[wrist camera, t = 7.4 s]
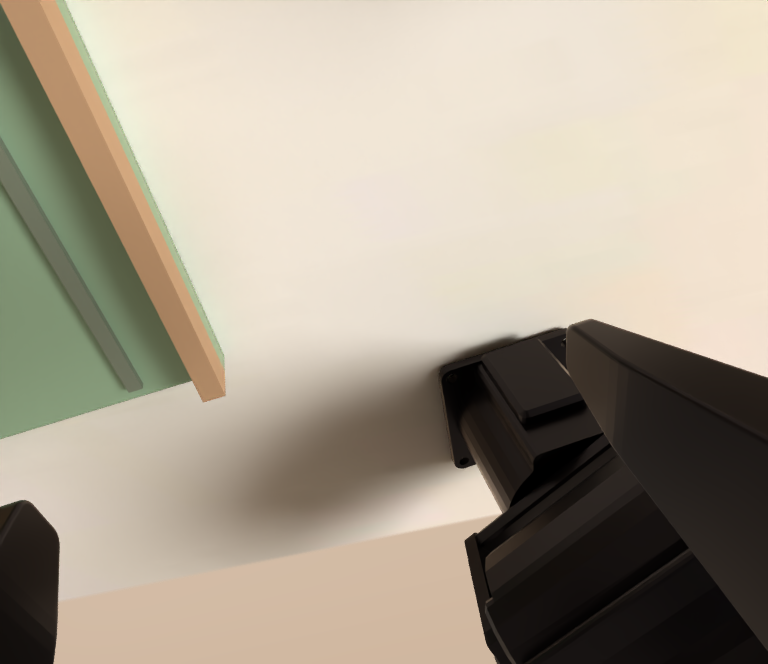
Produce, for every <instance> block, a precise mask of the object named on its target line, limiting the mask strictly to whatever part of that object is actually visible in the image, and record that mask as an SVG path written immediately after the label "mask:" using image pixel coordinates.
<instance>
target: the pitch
mask: <svg viewBox="0 0 768 664" xmlns="http://www.w3.org/2000/svg"><path fill="white" fill-rule="evenodd" d="M189 381H193V383H194V385H195V387H196V389H197V391H198V393H199V395H200V397H201V399H202V401H203V402H207V401H210V400H213V399H216V398H219V397H223V396H226V395H225V369H224V355H223V352H222V350H221V348H220V346H219V343H218V341H217V339H216V337H215V334H214V332H213V330H212V328H211V326H210V323H209V321H208V319H207V317H206V314H205V312H204V310H203V308H202V306H201V303H200V301H199V299H198V297H197V294H196V292H195V290H194V288H193V285H192V283H191V281H190V279H189V277H188V274H187V272H186V270H185V268H184V265H183V263H182V261H181V259H180V256H179V254H178V252H177V250H176V248H175V245H174V243H173V241H172V239H171V236H170V234H169V232H168V230H167V228H166V225H165V223H164V221H163V219H162V216H161V214H160V212H159V210H158V207H157V205H156V203H155V201H154V199H153V196H152V194H151V192H150V190H149V187H148V185H147V183H146V181H145V178H144V176H143V174H142V172H141V170H140V167H139V165H138V163H137V161H136V158H135V156H134V154H133V152H132V150H131V147H130V145H129V143H128V141H127V138H126V136H125V134H124V132H123V129H122V127H121V125H120V123H119V121H118V118H117V116H116V114H115V112H114V109H113V107H112V105H111V103H110V101H109V98H108V96H107V94H106V92H105V89H104V87H103V85H102V83H101V80H100V78H99V76H98V74H97V72H96V69H95V67H94V65H93V63H92V60H91V58H90V56H89V54H88V51H87V49H86V47H85V45H84V43H83V40H82V38H81V36H80V34H79V31H78V29H77V27H76V25H75V23H74V20H73V18H72V16H71V14H70V11H69V9H68V7H67V5H66V2H65V0H0V439H2V438H6V437H9V436H12V435H15V434H19V433H22V432H25V431H29V430H32V429H35V428H38V427H42V426H45V425H48V424H52V423H55V422H58V421H61V420H65V419H68V418H71V417H74V416H78V415H81V414H84V413H88V412H91V411H94V410H97V409H101V408H104V407H107V406H111V405H114V404H117V403H120V402H124V401H127V400H130V399H133V398H137V397H140V396H143V395H147V394H150V393H153V392H156V391H160V390H163V389H166V388H170V387H173V386H176V385H179V384H183V383H186V382H189Z"/></svg>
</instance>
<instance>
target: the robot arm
mask: <svg viewBox="0 0 768 664" xmlns="http://www.w3.org/2000/svg"><path fill="white" fill-rule="evenodd" d="M565 338H566V339H565ZM563 339H565V340H564V341H563ZM562 341H563V342H562ZM451 374H454V375H453V376H452V377H450V378H447V377H448V376H449V375H451ZM438 378H439V384H440V390H441V396H442V402H443V408H444V414H445V420H446V426H447V432H448V437H449V443H450V449H451V455H452V460H453V462H454V464H455V466H456V467H457V468H461V469H462V468H466V467H469V466H472V465H475V464H477V466H478V468H479V470H480V472H481V474H482V475H483V477H484V479H485V481H486V483H487V485H488V487H489V489H490V491H491V492H492V494H493V496H494V498H495V500H496V502H497V504H498V506H499V507H500V509H501V511H502V513H503V514H501V515H500V516H499V517H498V518H496V519H495V520H494V521H493V522H491V523H490V524H489V525H488V526H486V527H485V528H484V529H482V530H481V531H480V532H479V533H474V534H472V535H471V536H470V537H469V538H467V539H466V540H465V547H466V551H467V556H468V562H469V566H470V571H471V576H472V581H473V585H474V589H475V594H476V599H477V603H478V608H479V613H480V617H481V622H482V627H483V631H484V635H485V640H486V644H487V646H488V648H489V649H490V651H491V652H492V653H493V654H494V656H495V660H496V662H497V664H768V378H767V377H764V376H761V375H758V374H755V373H752V372H749V371H746V370H743V369H740V368H737V367H734V366H731V365H728V364H725V363H722V362H719V361H716V360H713V359H710V358H707V357H704V356H701V355H699V354H696V353H693V352H690V351H687V350H684V349H681V348H678V347H675V346H672V345H669V344H666V343H663V342H660V341H657V340H654V339H651V338H648V337H645V336H642V335H639V334H636V333H633V332H630V331H627V330H624V329H621V328H618V327H615V326H612V325H609V324H606V323H603V322H600V321H597V320H593V319H588V320H584V321H581V322H578V323H575V324H572V325H570V326H569V327H568V328H563V329H559V330H556V331H553V332H550V333H547V334H544V335H540V336H537V337H534V338H531V339H528V340H525V341H521V342H518V343H515V344H512V345H509V346H506V347H503V348H499V349H496V350H493V351H490V352H487V353H484V354H480V355H477V356H474V357H471V358H468V359H465V360H462V361H458V362H455V363H452V364H449V365H446V366H444V367H443V368H442V369H441V370H440V372H439V375H438ZM462 458H463V459H462ZM59 550H60V544H59V538H58V534H57V532H56V531H55V529H54V528H53V527H52V525H51V524H50V523H49V522H48V521H47V520H46V519H45V518H44V516H43V515H42V514H41V513H40V512H39V511H38V510H37V508H36V507H35V506H34V505H33V504H32V503H31V502H29V501H26V500H20V501H17V502H14V503H11V504H7V505H4V506H1V507H0V664H53V662H54V655H55V647H56V637H57V619H58V585H59Z"/></svg>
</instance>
